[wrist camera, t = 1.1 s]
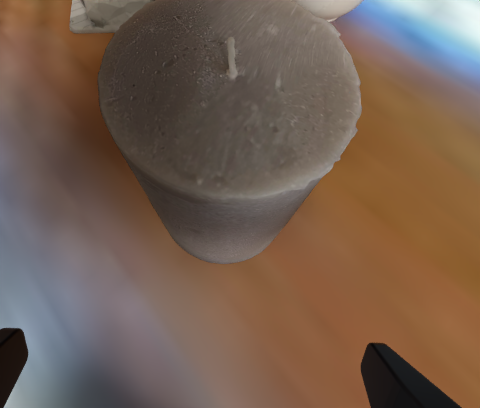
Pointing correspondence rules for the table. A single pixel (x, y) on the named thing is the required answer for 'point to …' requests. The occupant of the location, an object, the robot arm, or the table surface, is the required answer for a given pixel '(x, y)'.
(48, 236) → the table surface
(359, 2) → the lidded jar
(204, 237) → the pillar candle
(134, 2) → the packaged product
